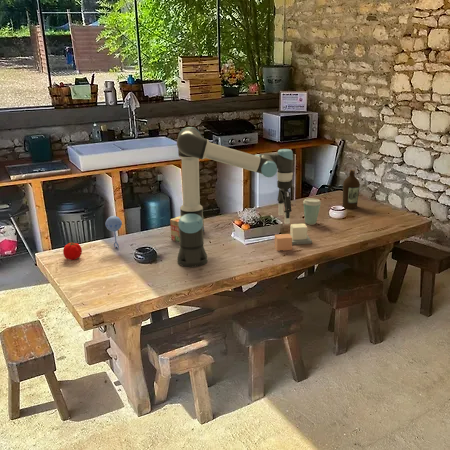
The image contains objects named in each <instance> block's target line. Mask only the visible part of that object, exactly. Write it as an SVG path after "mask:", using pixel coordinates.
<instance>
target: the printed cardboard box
mask: <svg viewBox="0 0 450 450" xmlns="http://www.w3.org/2000/svg"><path fill="white" fill-rule="evenodd" d="M179 219H180V215H179V216H176V217H174V218H171V219H170V222H169V223H170V237H171V238H170V239H171V240H172V241H175V242H179V243H180V233H179ZM204 220H205V219H204V218H203V232H205V221H204Z"/></svg>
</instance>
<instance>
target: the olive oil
mask: <svg viewBox="0 0 450 450" xmlns="http://www.w3.org/2000/svg"><path fill="white" fill-rule="evenodd" d="M355 172H356V171H355V169H349V175H348V176H347V177H346V179H345V180H343V183H342V208H343V207H345V208H344V209H347V210H354V209H357V208H358V200H359V193H360V187H361V186H360V185H361V184H360V181H359V179H358V178H357V177H356V176H355V174H356V173H355Z"/></svg>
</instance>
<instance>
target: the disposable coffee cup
mask: <svg viewBox="0 0 450 450" xmlns="http://www.w3.org/2000/svg"><path fill="white" fill-rule="evenodd" d="M302 203H303V214H304V222H305V223H304V224H305V225H316V223H317V221H318V217H319V213H320V208H321V204H322V201H321V199H318V198H309V197H308V198H304V200H303V201H302Z"/></svg>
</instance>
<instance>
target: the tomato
mask: <svg viewBox="0 0 450 450" xmlns="http://www.w3.org/2000/svg"><path fill="white" fill-rule="evenodd" d="M62 250H63V251H62V252H63V256H64V258H65V259H67V260H70V261H72V260H74V261H75V260H77V259H79V258H80V257H81V256H82V254H83V249H82V246H81V245H80V244H79V243H76V242H68V243H67V244H65V246H64V247H63V249H62Z"/></svg>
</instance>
